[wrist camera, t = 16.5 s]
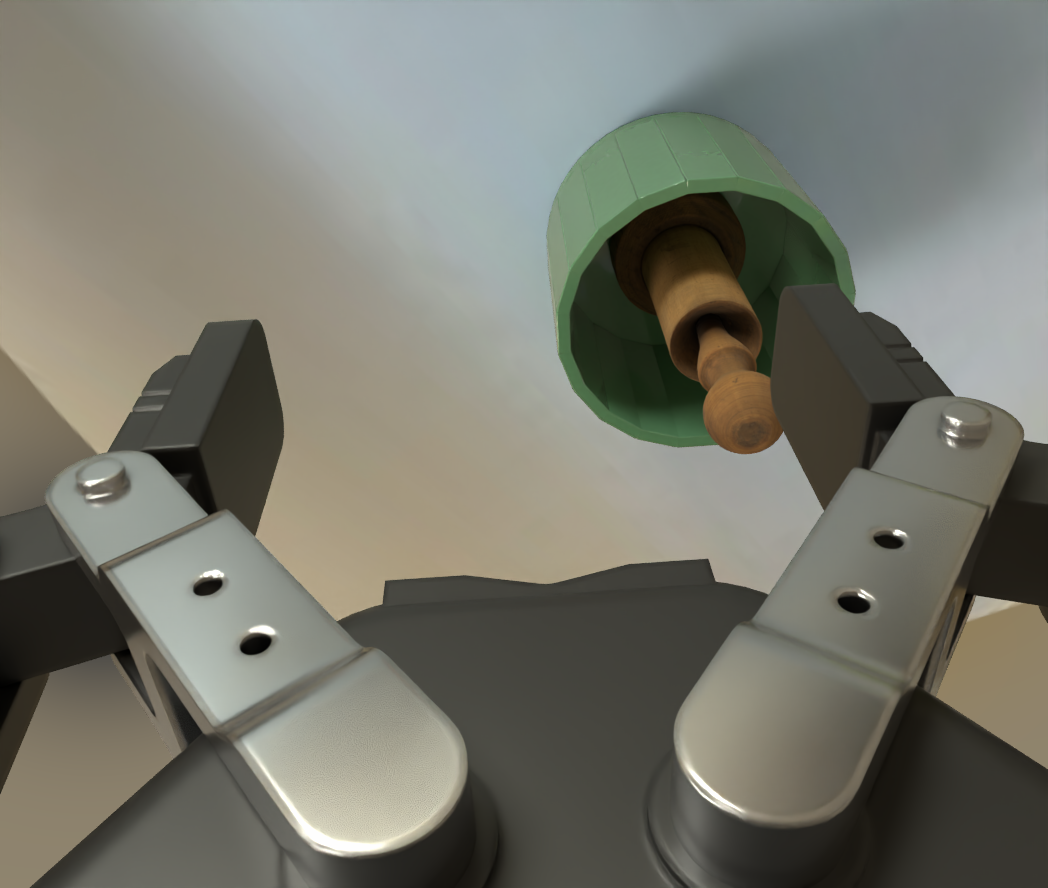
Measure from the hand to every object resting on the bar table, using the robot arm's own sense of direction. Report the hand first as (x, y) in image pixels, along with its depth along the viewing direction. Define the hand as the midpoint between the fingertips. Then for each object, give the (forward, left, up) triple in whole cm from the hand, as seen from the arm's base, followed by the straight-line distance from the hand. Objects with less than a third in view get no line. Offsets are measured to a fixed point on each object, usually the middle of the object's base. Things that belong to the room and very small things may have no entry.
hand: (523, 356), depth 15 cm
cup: (+8, -12, -33) cm, 36 cm away
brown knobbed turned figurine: (+8, -12, -33) cm, 35 cm away
